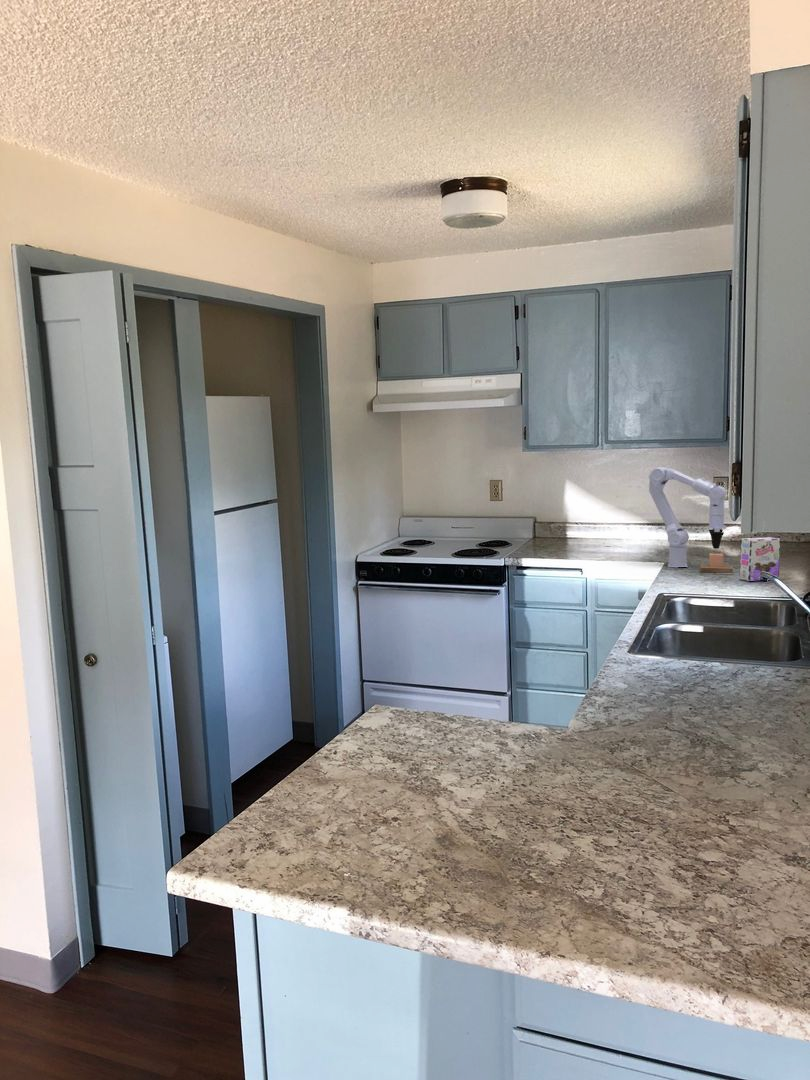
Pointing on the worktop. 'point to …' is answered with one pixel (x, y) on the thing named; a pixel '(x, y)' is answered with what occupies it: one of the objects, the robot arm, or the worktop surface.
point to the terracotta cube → (715, 560)
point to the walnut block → (715, 569)
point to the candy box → (759, 557)
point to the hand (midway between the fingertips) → (715, 547)
